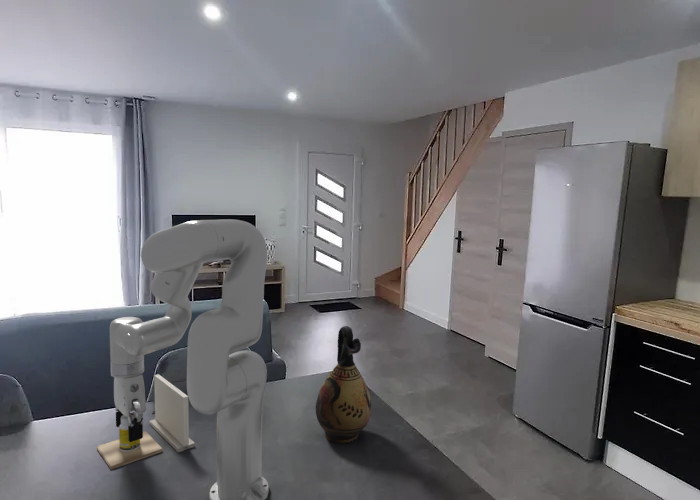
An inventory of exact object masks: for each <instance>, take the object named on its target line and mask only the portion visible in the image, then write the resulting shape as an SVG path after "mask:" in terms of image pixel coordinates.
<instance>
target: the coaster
mask: <svg viewBox="0 0 700 500" xmlns="http://www.w3.org/2000/svg"><path fill="white" fill-rule="evenodd" d="M96 451H98V453H99V454H100V456H101V457H102V459H103V460H104V462H105V463H106V464H107V466H108V467H109V469H110V470H115V469H117V468H120V467H122V466H125V465H128V464H131V463H133V462H136V461H140V460H143V459H145V458H149V457H151V456H154V455H157V454H160V453H162V452H163V447H162V446H161V445H160V444H159V443H157V441H156V440H155V439H154V438H153V437H152V436H151V435H150V434H149V433H148V432H147V431H146V430H145V431H144V430H143V438H142V439H140V447H139V448H138V449H136V450H134V451H131V452H122V451H121V450H120V441H119V438H118V439H115V440H112V441H109V442H107V443H103V444H99V445H96Z"/></svg>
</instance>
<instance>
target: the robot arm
mask: <svg viewBox="0 0 700 500" xmlns="http://www.w3.org/2000/svg"><path fill="white" fill-rule="evenodd" d="M140 257H141V261H142V264H143V266H144V268H145V269H147V270H148V271H149V272H151V273H154V277H153V279H152V281H151V282H150V292H151V294H152V295H153V297H155V298H156V299H157V300H159V301H160V302H162V303H164V304H167V305H169V307H168V309H167V311H166V313H165V314H164V316H163V317H159V318H154V319H152V320H150V319H149V320H147V321H143V320H142V319H141V317H136V316H123V317H118V318H116V319H113V320H112V321H111V322H110V325H109V351H110V352H109V354H110V376H111V377H112V378H113V399H114V400H113V401H114V406H115V427H117V428H119V426H120V424H121V416H122V415H124V416H127V417H128V420H129V424H130V426H128V439H129V442H132V441H136V440H139V439H142V438H143V432H144V429H143V427H144V425H143V423H144V413H145V412H146V411H147V404H146V401H147V400H146V391H145V381H144V375H143V373H144V372H145V355H149V354H150V353H154V352H157V351H160V350H163V349H165V348H169V347H173V346H174V345H176V344H178V342H179V341H181V339H182V338H183V336H184V335H185V333H186V330H187V329H188V327H189V325H190V323H191V320H192V313H193V312H192V305H191V301H190V299H189V295H190V293H191V290H192V288H193V286H194V284H195V282H196V280H197V278H198V276H199V274H200V272H201V270H202V268H203V265H204V264H205V263H212V262H219V261H227V260H229V261H230V265H229V267H228V269H227V270H226V273H225V275H224V277H223V280H222V287H221V292H222V293H221V301H220V305H219V307H218V308H217V307H216V308H214V309H211V310H207V311H205V312H202V313H200V314H199V315H198V316H197V317H196V318H195V319H194V320H193V322H192V323H191V325H190V327H189V328H190V329H189V330H188V335H187V336H188V337H187V351H186V352H187V356H186V357H187V358H186V392H187V396H188V401H189V403H190V404H191V406H192V407H193V409H194V410H196V411H197V412H198V413H199V414H203V415H213V414H216V481H215V483H213V484H212V486H211V487H210V489H209V491H208V492H209V493H208V495H209V496H208V497H209V500H266V499H267V498H268V495H269V492H270V491H269V490H270V488H269V487H270V485H269V482H268V481H267V479H266V478H265V477H264V476H263V475H262V474H263V472H262V469H263V468H262V465H263V459H262V457H263V456H262V454H263V452H262V451H263V450H262V449H263V447H262V446H263V444H262V443H263V442H262V441H263V435H262V433H263V407H264V406H263V405H264V396H265V392H266V391H265V390H266V385H267V378H268V373H267V372H268V371H267V365H266V363H265V361H264V358H263V357H262V356H261V355H260V354H259V353H257V352H256V351H253V350H247V348H249V347H251V346H253V345H255V344H256V343H257V342H258V341H260V338H261V335H262V331H263V322H264V321H263V320H264V319H263V317H264V301H265V299H264V296H265V279H266V271H267V265H268V246H267V243H266V240H265V238H264V236H263V234H262V233H261V231H260V230H259V229H258V228H257V227H256V226H255V225H254V224H252V223H250V222H248V221H245V220H240V219H230V218H228V219H226V218H225V219H200V220H199V219H198V220H197V219H196V220H190V221H186V222H183V223H180V224H177V225H173V226H171V227H167V228H164V229H162V230H159V231H156V232H154V233H152V234H150V236H148V237H147V239H146V240H144V243H143V244H142V248H141V251H140ZM244 349H245V350H244ZM132 416H136V417H135V418H134V419H133V420H132Z"/></svg>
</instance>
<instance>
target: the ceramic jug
mask: <svg viewBox="0 0 700 500" xmlns="http://www.w3.org/2000/svg"><path fill="white" fill-rule="evenodd" d="M353 333H354V332H353V328H352V327H351V326H348V325H344V326H342V327H341V328H339V330H338V334H337V335H338V336H337V358H336V359H337V360H336V361H337V364H336V366H334V368H333V369H332V370H331V371H330V373H329V374H328V376H327V377H326V379H325V380H324V382H323V383H322V385H321V386H320V389H319V392H318V394H317V398H316V402H315V416H316V419H317V422H318V424H319V426H320V427H321V429H322V430H323V431H324V435H325V438H326V440H327V441H328V442H332V443H336V444H340V443H341V444H342V445H344V444H343V443H346V444H348V443H352V442H354V441H355V440H354V439H356V440H357V438H358V437H359V434H360V432H361V431H362V430H363V429H364V428H365V427H367V425H368V423H369V421H370V418H371V415H372V405H373V404H372V398H371V396H370V395H371V394H370V391H369V388H368V385H367V383H366V381H365V380H364V378H363V376H362V374H361V372H360V371H359V370H358V368H357V366H356V363H355V362H354V356H353V355H354V354H358V353H359V352H360V351H361V349H362V348H361V347H362V343H361V340H360V339H359V338H357V337H356V338H354V334H353ZM353 440H354V441H353ZM351 441H352V442H351Z"/></svg>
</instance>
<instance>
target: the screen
mask: <svg viewBox="0 0 700 500" xmlns="http://www.w3.org/2000/svg"><path fill="white" fill-rule="evenodd" d="M153 377H154V383H153V385H154V410H155V414H154V419H153V418H152V419H151V420H149V423H148V424H149V426H151V428H153V429H154V430H155V431H156V433H158V434H159V435H160V436H161V438H163V439H164V440H165V442H167V443H168V444H169V445H170V446H171V447H172V449H174V450H175V451H176V452H177V453H181V452H185V451H186V450H189V449H192V448H195V446H196V443H195V442H194V441H193V440H192V439H191V438H190V437H189V435H190V433H189V431H190V429H189V427H190V425H189V421H190V420H189V417H190V416H189V415H190V414H189V397H188V394H186V393H184V392H183V391H182V390H180V389H179V388H178V387H177V386H175V385H173V384H172V383H171V382H170V381H168V380H167V379H166V378H164V377H163V376H161V375H160V374H158V373H157V374H155V375H153Z"/></svg>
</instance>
